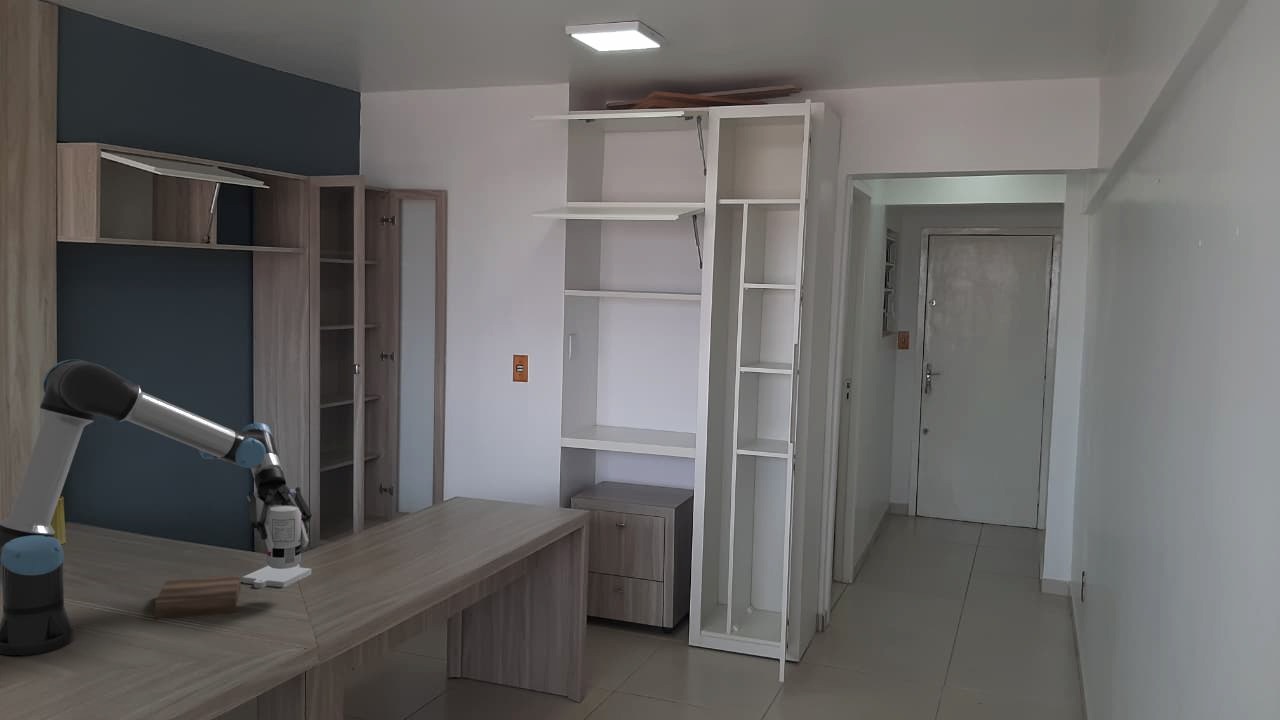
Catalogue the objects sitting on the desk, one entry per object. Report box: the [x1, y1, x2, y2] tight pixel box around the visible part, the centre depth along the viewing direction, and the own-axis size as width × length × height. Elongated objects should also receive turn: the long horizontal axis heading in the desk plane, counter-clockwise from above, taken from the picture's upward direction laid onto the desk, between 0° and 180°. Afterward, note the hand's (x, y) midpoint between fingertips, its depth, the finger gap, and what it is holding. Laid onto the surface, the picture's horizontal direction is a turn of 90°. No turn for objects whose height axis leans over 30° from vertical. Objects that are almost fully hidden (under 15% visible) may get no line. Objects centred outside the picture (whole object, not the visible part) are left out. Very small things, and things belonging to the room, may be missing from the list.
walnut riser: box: [154, 575, 241, 619], centre depth 248 cm, size 18×18×4 cm
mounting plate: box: [241, 563, 312, 589], centre depth 271 cm, size 18×13×2 cm
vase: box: [50, 495, 67, 545], centre depth 299 cm, size 6×6×14 cm
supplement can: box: [266, 505, 302, 569], centre depth 254 cm, size 8×8×15 cm
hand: (288, 546), depth 251 cm, fingers closed on supplement can, 8 cm apart
